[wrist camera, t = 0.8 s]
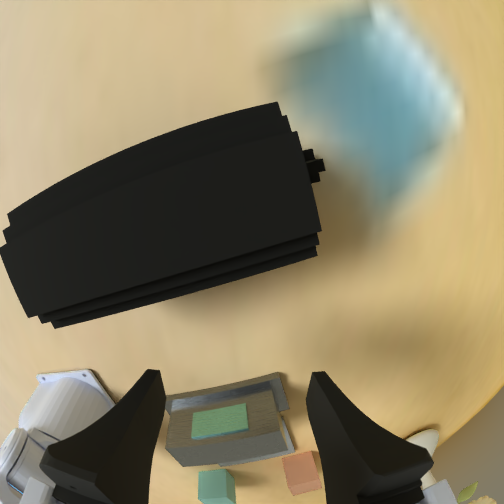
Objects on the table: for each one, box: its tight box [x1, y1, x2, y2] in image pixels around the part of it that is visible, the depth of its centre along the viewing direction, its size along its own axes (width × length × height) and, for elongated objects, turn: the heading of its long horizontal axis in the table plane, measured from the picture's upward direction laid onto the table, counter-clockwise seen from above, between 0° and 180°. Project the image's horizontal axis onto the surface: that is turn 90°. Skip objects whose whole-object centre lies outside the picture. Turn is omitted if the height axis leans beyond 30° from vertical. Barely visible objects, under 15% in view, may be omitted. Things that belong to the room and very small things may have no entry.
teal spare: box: [198, 469, 236, 504], centre depth 28 cm, size 4×4×5 cm
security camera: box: [0, 102, 326, 329], centre depth 15 cm, size 7×18×10 cm, turn 106°
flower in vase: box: [406, 429, 497, 504], centre depth 21 cm, size 13×11×25 cm
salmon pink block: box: [282, 451, 322, 496], centre depth 28 cm, size 4×4×5 cm
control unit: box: [165, 372, 289, 467], centre depth 22 cm, size 12×5×6 cm, turn 106°
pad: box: [218, 416, 295, 467], centre depth 27 cm, size 10×8×1 cm
